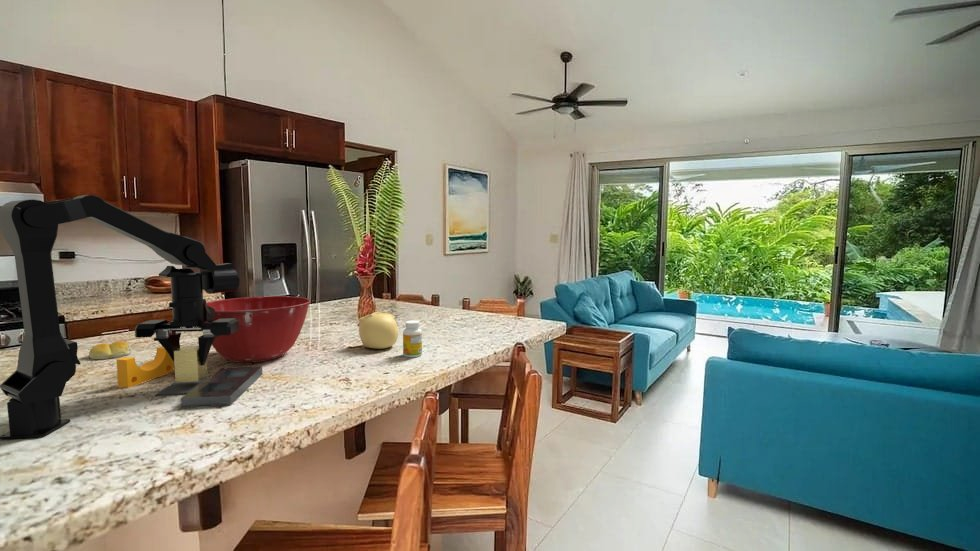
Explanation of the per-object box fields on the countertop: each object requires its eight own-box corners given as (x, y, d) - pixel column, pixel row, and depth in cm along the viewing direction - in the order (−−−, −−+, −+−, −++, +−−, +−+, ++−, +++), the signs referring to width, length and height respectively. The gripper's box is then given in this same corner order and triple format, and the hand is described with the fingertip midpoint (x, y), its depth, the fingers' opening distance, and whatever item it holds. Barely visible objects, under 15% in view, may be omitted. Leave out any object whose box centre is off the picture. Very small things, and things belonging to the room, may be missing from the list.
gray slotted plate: (230, 405, 89) (230, 395, 89) (181, 408, 87) (180, 398, 87) (262, 374, 109) (262, 366, 109) (222, 376, 107) (222, 368, 107)
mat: (207, 393, 96) (207, 391, 96) (155, 395, 94) (155, 394, 94) (225, 378, 105) (225, 376, 105) (179, 380, 104) (179, 378, 103)
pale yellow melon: (392, 340, 144) (391, 307, 143) (403, 349, 134) (402, 314, 133) (356, 344, 139) (355, 310, 138) (364, 353, 128) (364, 317, 127)
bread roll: (91, 355, 124) (90, 341, 124) (132, 351, 129) (131, 337, 129) (86, 362, 118) (85, 347, 117) (130, 357, 123) (129, 343, 122)
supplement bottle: (401, 353, 128) (400, 320, 128) (419, 351, 131) (419, 319, 130) (405, 358, 124) (405, 324, 123) (424, 356, 126) (424, 322, 125)
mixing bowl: (203, 349, 131) (200, 298, 129) (307, 340, 144) (305, 292, 142) (189, 377, 106) (186, 313, 104) (317, 363, 119) (315, 306, 117)
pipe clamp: (158, 371, 111) (157, 345, 110) (174, 372, 110) (172, 346, 110) (111, 387, 99) (109, 359, 99) (128, 388, 99) (126, 360, 98)
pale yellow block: (198, 381, 98) (196, 350, 97) (175, 382, 97) (173, 351, 96) (207, 375, 102) (205, 345, 101) (185, 375, 101) (184, 345, 100)
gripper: (246, 291, 107) (248, 354, 109) (159, 292, 104) (163, 357, 105) (228, 297, 96) (231, 367, 98) (131, 299, 93) (135, 371, 94)
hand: (191, 365), depth 99 cm, fingers closed on pale yellow block, 4 cm apart
